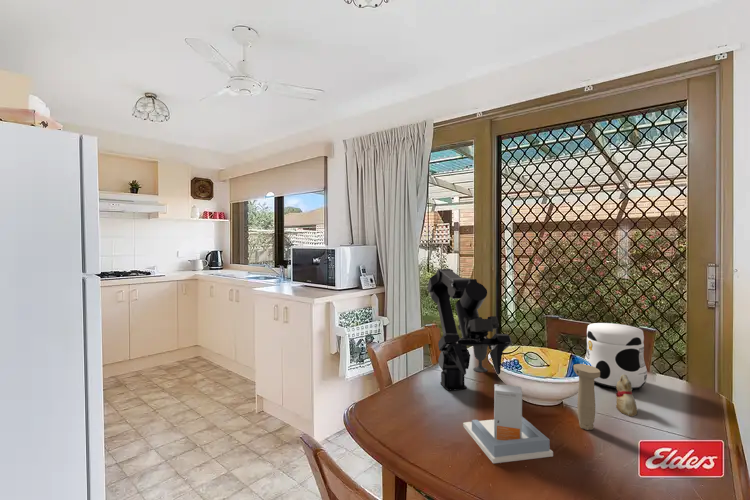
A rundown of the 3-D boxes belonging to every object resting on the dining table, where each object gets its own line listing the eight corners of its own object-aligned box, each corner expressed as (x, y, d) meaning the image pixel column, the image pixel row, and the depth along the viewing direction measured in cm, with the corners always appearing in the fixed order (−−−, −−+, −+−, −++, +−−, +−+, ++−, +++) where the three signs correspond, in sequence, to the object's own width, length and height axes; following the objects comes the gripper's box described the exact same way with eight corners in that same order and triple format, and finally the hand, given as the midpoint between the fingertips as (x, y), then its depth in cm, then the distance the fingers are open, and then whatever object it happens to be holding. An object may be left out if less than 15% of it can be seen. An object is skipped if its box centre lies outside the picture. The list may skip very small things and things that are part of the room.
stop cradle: (463, 426, 96) (463, 412, 96) (514, 421, 98) (514, 408, 98) (493, 463, 80) (493, 447, 80) (553, 456, 82) (553, 440, 82)
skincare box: (494, 441, 87) (494, 390, 86) (493, 432, 91) (493, 383, 90) (522, 445, 85) (522, 393, 84) (520, 436, 89) (521, 385, 89)
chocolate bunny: (641, 408, 105) (641, 372, 104) (634, 418, 99) (635, 380, 99) (618, 402, 109) (618, 367, 108) (610, 411, 103) (610, 375, 103)
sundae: (471, 372, 133) (471, 330, 133) (470, 366, 140) (470, 326, 139) (491, 373, 132) (491, 331, 132) (488, 367, 139) (488, 326, 138)
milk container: (575, 372, 132) (575, 321, 132) (628, 374, 130) (629, 322, 129) (597, 392, 115) (597, 334, 115) (659, 395, 113) (660, 335, 112)
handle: (586, 420, 98) (586, 363, 97) (604, 433, 92) (604, 372, 91) (569, 421, 97) (569, 364, 97) (585, 434, 91) (586, 373, 91)
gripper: (446, 303, 98) (457, 362, 88) (512, 305, 101) (530, 362, 91) (433, 323, 106) (443, 378, 97) (495, 324, 109) (510, 377, 100)
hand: (481, 374), depth 96 cm, fingers open, 9 cm apart
